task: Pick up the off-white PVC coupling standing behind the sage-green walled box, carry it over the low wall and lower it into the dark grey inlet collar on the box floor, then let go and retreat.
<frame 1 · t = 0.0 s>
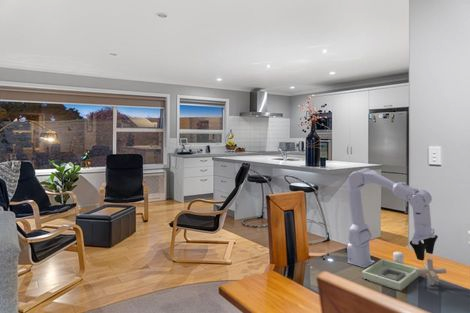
hand: (425, 256, 126), 10 cm above the table, tool pointing down, fingers open, 7 cm apart
pvc coupling: (399, 266, 141), on the table
grey toy jack: (431, 284, 124), on the table
walled box: (390, 277, 133), on the table
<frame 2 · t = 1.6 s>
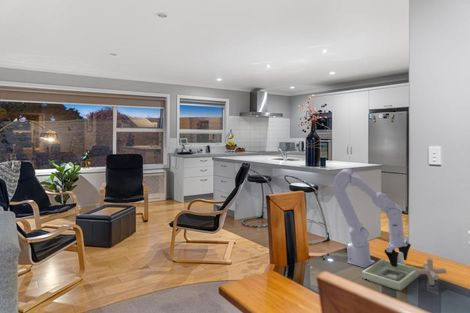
hand: (399, 263, 141), 2 cm above the table, tool pointing down, fingers open, 7 cm apart
nothing on the table moved.
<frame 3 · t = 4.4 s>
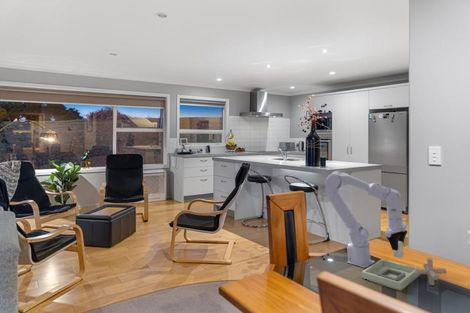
hand: (397, 248, 141), 8 cm above the table, tool pointing down, fingers closed on pvc coupling, 4 cm apart
pvc coupling: (398, 255, 141), point 5 cm above the table, touching gripper
everything else where it was.
when the fingers open (4 cm above the table, at t = 7.6 s): pvc coupling stays where it is, resting on walled box.
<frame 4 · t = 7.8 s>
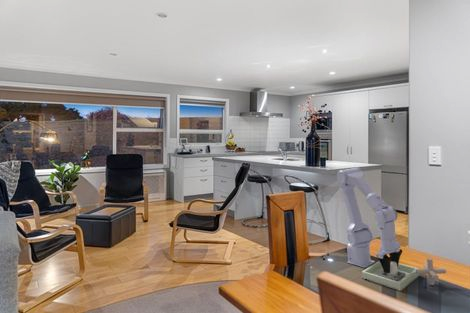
hand: (391, 269, 132), 4 cm above the table, tool pointing down, fingers open, 6 cm apart
pvc coupling: (392, 277, 132), point 1 cm above the table, touching walled box
everything else where it was.
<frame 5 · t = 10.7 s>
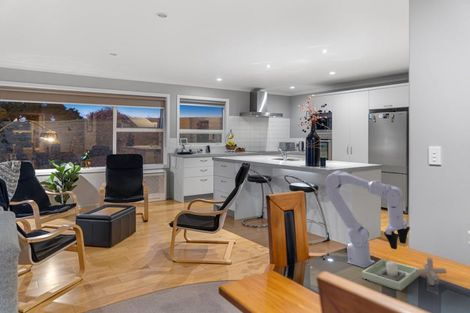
hand: (398, 245, 139), 10 cm above the table, tool pointing down, fingers open, 7 cm apart
nothing on the table moved.
at the end: pvc coupling 0.3 cm from the target spot on the walled box, point 0.6 cm above the walled box's base; pvc coupling tilted 0°; the gripper is holding nothing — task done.
